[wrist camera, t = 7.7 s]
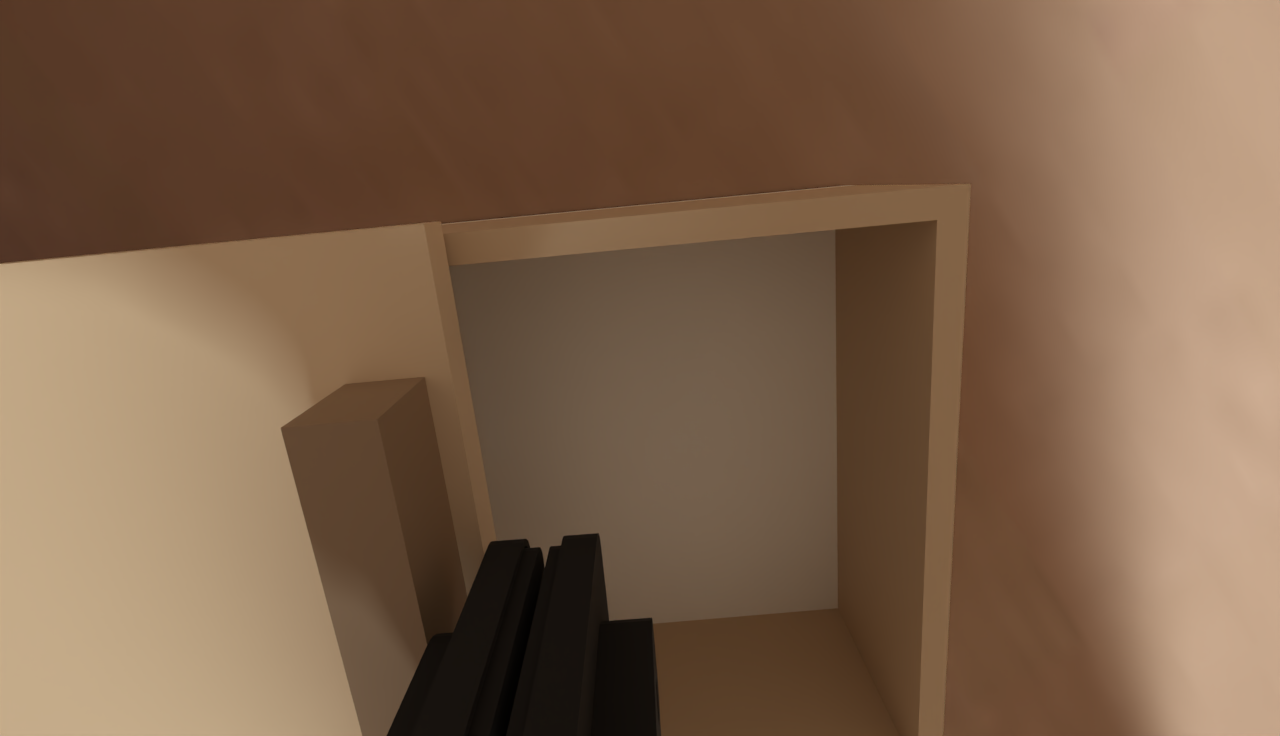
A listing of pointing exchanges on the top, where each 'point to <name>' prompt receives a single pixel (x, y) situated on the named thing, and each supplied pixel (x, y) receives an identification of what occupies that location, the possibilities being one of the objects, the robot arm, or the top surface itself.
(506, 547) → the robot arm
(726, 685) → the mailer box
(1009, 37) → the top surface
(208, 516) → the mailer lid
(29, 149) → the top surface
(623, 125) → the top surface
